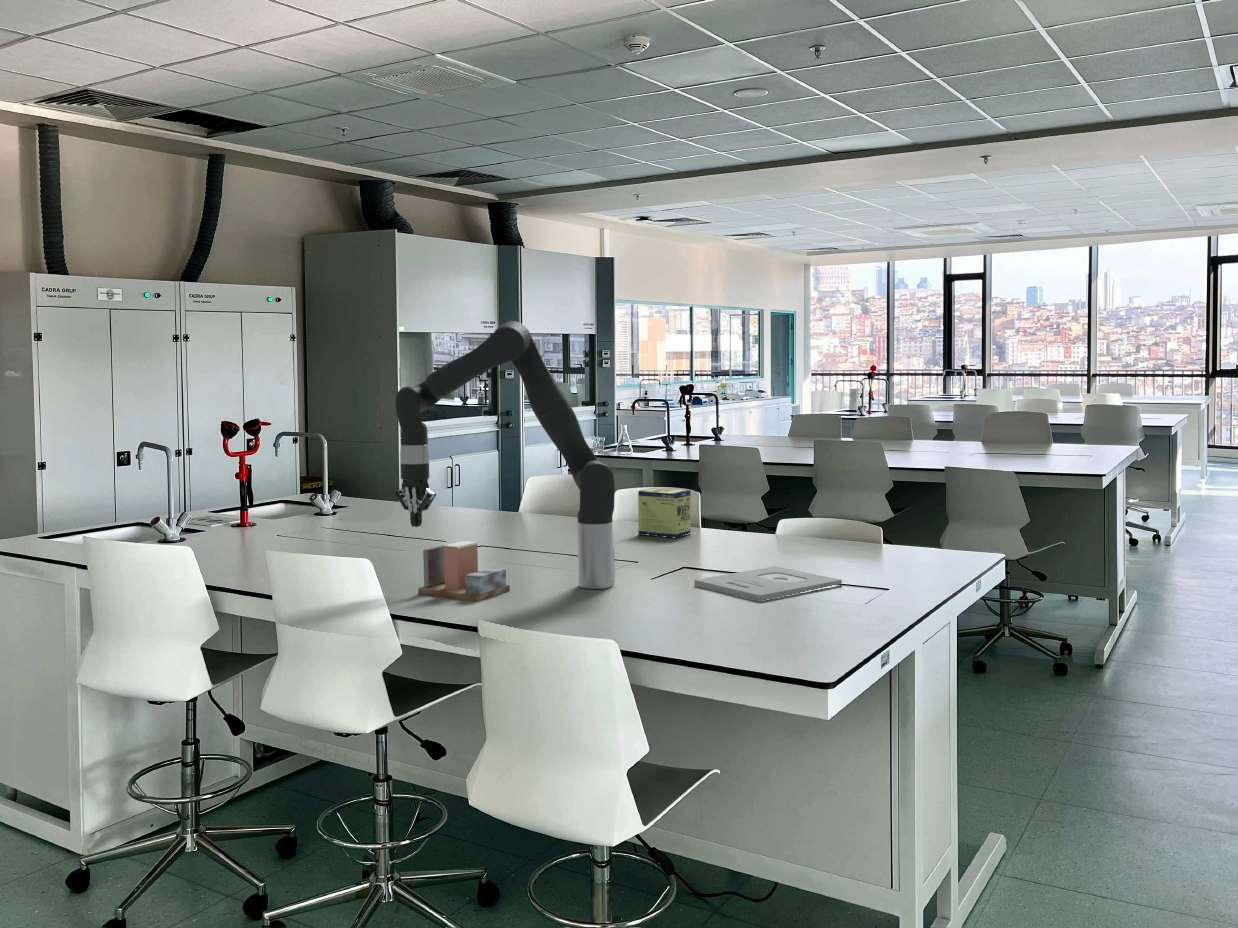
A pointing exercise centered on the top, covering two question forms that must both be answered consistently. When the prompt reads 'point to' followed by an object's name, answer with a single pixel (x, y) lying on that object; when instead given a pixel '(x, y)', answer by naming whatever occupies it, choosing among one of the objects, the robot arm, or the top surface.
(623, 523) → the top surface
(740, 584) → the award plaque
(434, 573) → the bookend
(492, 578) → the rack
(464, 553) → the orange upright rectangular block
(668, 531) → the protein box
